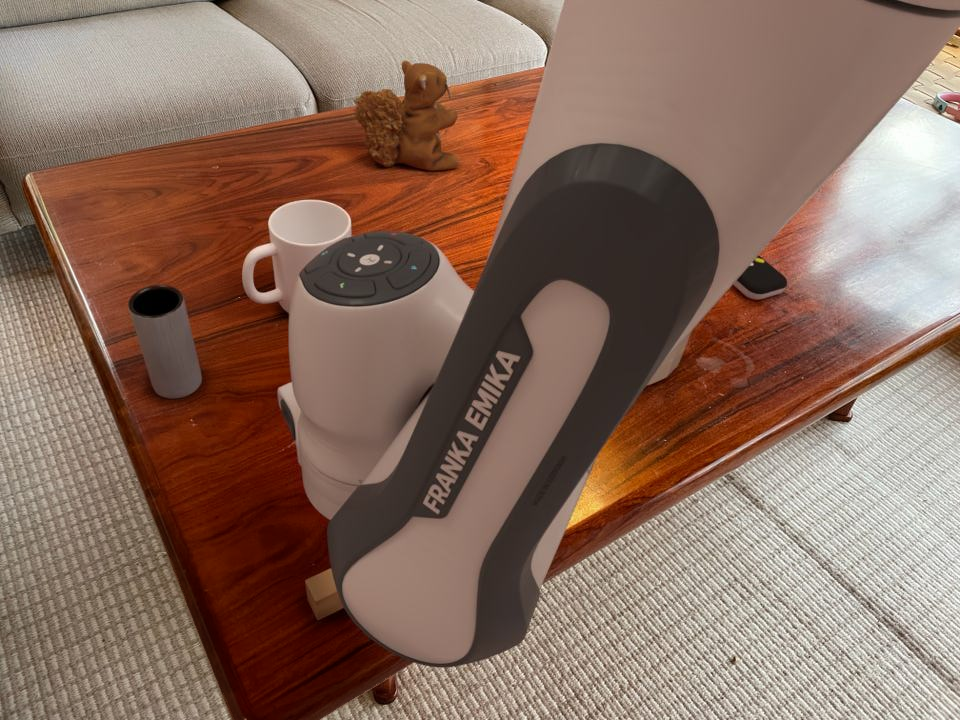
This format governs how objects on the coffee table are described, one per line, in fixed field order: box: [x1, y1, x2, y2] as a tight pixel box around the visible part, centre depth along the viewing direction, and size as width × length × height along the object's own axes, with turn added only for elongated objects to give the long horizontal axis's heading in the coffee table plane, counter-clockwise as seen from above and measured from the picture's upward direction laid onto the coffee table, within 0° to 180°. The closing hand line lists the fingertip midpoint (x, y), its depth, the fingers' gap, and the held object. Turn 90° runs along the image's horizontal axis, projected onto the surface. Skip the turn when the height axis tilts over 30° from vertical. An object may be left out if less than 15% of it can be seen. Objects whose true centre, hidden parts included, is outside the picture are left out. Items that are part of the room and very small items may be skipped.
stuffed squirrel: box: [352, 60, 460, 172], centre depth 102 cm, size 10×14×13 cm
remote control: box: [732, 254, 788, 301], centre depth 94 cm, size 6×13×2 cm, turn 27°
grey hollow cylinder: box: [127, 284, 203, 399], centre depth 68 cm, size 4×4×10 cm
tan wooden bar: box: [304, 567, 344, 621], centre depth 57 cm, size 10×2×3 cm, turn 122°
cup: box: [241, 199, 352, 314], centre depth 78 cm, size 8×12×10 cm
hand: (371, 568), depth 57 cm, fingers closed on tan wooden bar, 2 cm apart
